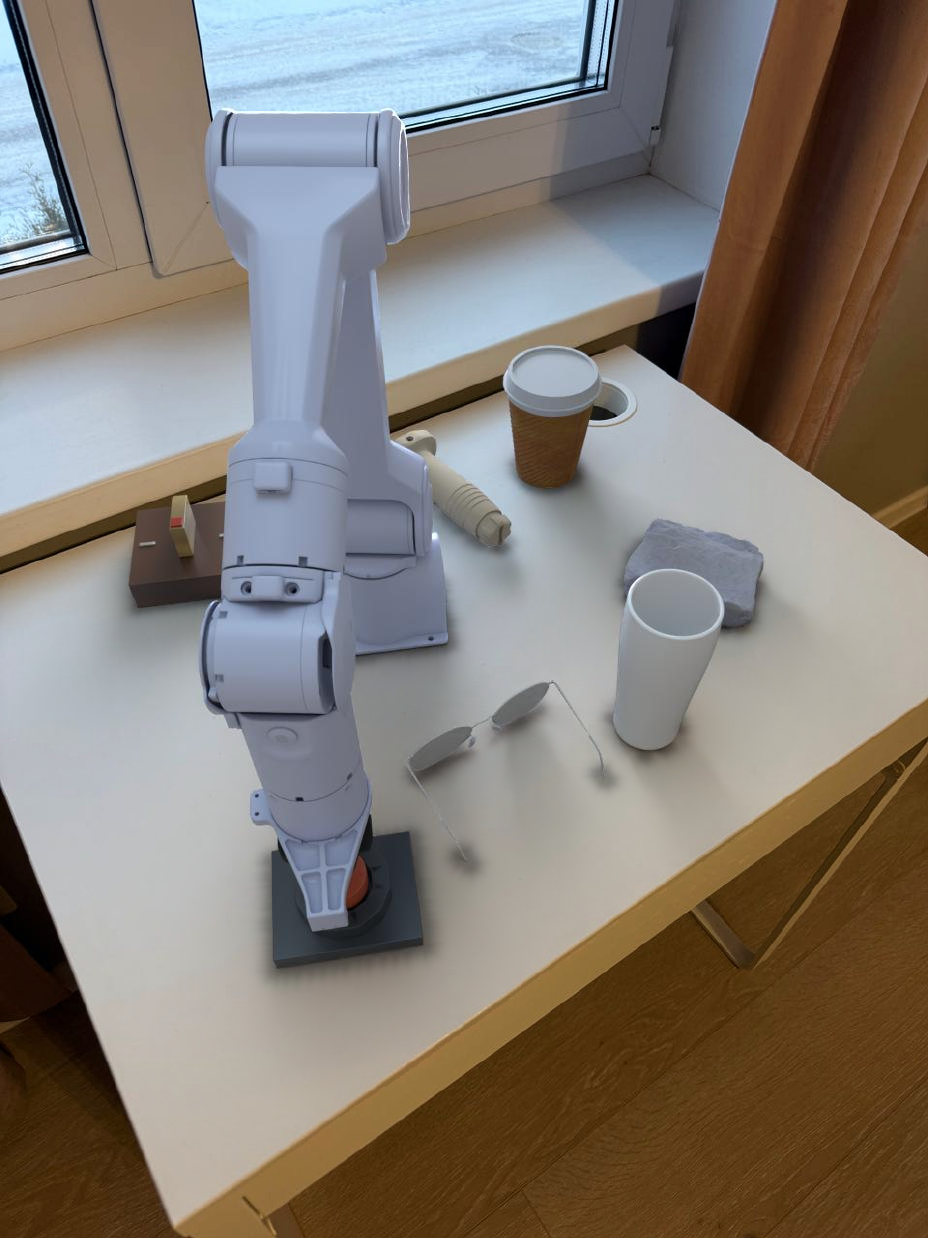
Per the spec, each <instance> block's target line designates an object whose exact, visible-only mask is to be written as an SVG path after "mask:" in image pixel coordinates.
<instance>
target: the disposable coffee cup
mask: <svg viewBox="0 0 928 1238" xmlns="http://www.w3.org/2000/svg"><path fill="white" fill-rule="evenodd" d="M502 387H503V389H504V391H505V394H506V396H507V399H508V406H509V418H510V424H511V425H510V426H511V434H512V443H513V451H514V461H515V470H516V471H515V472H516V474H517V475H518V477H519V478H520V479H521V480H522V481H523V482H524V483H526V484H527V485H530V486H533V487H536V488H540V489H554V488H559V487H562V486H565V485H567V484H568V483H570V482H571V481H572V480H573V479H574V477H575V476H576V473H577V469H578V465H579V461H580V458H581V453H582V450H583V446H584V442H585V439H586V436H587V432H588V428H589V424H590V419H591V416H592V412H593V409H594V405H595V402H596V400H597V399H598V397H599V396H600V394H601V392H602V390H603V379H602V377H601V375H600V373H599V368H598V365H597V364H596V362H595V361H594V359H592V358H591V357H590V356H589V355H587V354H586V353H585V352H582V351H580V350H578V349H575V348H572V347H568V346H562V345H540V346H536V347H535V346H534V347H530V348H528V349H526V350H523V351H521V352H520V353H518V354H517V355H516V356H514V357H513V358H512V360H511V361H510V363H509V364H508V368H507V369H506V371H505V372H504V374H503V377H502Z"/></svg>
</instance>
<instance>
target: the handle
mask: <svg viewBox="0 0 928 1238" xmlns="http://www.w3.org/2000/svg"><path fill="white" fill-rule="evenodd" d="M394 442H395V443H397V444H399V445H401V446H403V447H405V448H407V449H409V450H411V451H413V452H414V453H416V454H418V455H420V456H421V457H423V458H424V459H425V465H426V466H427V467H428V470H429V482H430V484H431V486H432V497H433V503H434V504H435V505H436V506H437V507H439V508H440V510H441V511H442V512H443V513H444V514H445V515H446V516H447V517H448V518H449V519H451V520H452V521H453V522H454V523H455V524H457V526H458V527H460V528H462V529H463V530H464V531H465V532H467V533H468V534H470V535H471V536H473V537H474V538H476V539H478V540H479V542H481V543H482V544H483V545H485V546H486V547H493V546H494V547H500V546H501V545H502V544H503V542H504V541H505V540H506V539H507V538H508V537H509V536H510V535H511V533H512V530H511V527H512V525H513V524H512V521H511V520H510V519H509V517H507V516H506V515H505V514H503V513H502V511H501V510H500V509H499V507H498V506H497V505H496V504H495V503H494V502H493V501H492V500H491V499H490V498H489V497H488V496H487V495H486V494H485V493H484V492H483V491H482V490H481V489H479V488H478V487H477V486H475V484H473V483H472V482H470V481H469V480H468V479H466V478H465V477H463V476H461V474H459V473H457V472H456V471H455V470H453V468H451V467H449V466H448V465H447V464H445V463H444V462H443V461H441V460H440V459H439V458H437V457H436V453H437V440H436V439H435V437H434V435H432V434H431V433H430V432H429V431H428V430H426V429H416V430H412V431H409V432H406V433H405V434H402V435H401V436H399V437H397V438H396V439H395V440H394Z"/></svg>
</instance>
